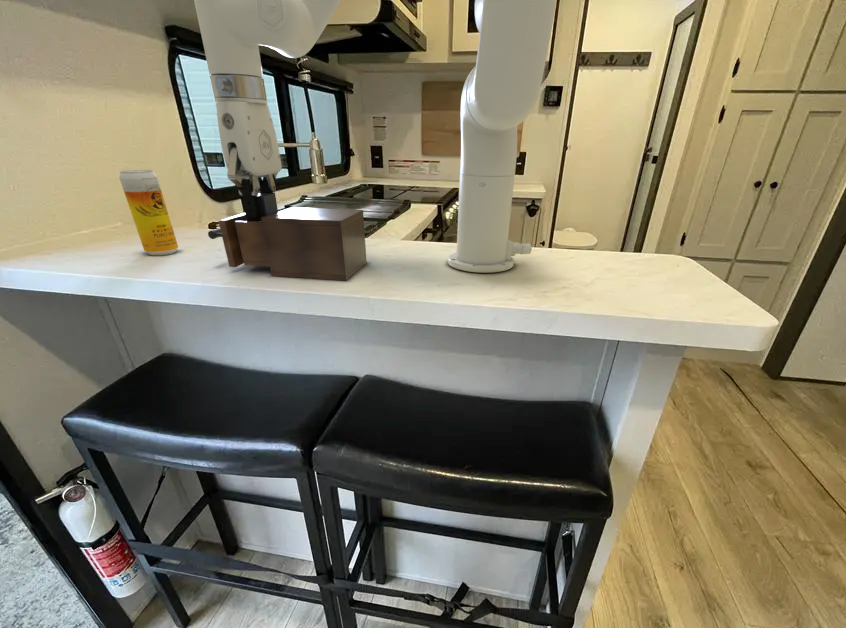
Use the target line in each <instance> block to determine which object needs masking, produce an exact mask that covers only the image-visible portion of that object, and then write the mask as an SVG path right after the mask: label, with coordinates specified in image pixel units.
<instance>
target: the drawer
mask: <svg viewBox="0 0 846 628" xmlns="http://www.w3.org/2000/svg"><path fill="white" fill-rule="evenodd" d="M217 221H218V225H219V227H218V228H215V229H212V230H209V231H208V232H207V235H208V238H209V239H211V240H215V239H218V238H222V242H223V247H224V250H225V255H226V259H227V263H228V266H229V268H237V267H239V266H241V265H243V266H251V267H252V266H253V267H269V268H270V263H269V258H268V252H267V247H266V242H265V237H264V231H263V226H262V222H256V221H247V219H246V215H245V212H243V213H239V214H236V215H233V216H232V215H231V216H230V217H225V218H222V219H219V220H217Z"/></svg>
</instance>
